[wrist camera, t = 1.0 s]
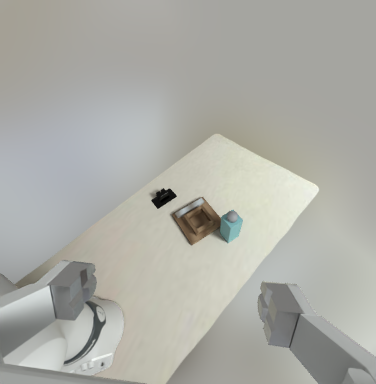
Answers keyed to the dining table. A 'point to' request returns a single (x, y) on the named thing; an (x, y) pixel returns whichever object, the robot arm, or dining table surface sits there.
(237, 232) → the teal bottle
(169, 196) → the black block on base
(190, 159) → the dining table surface
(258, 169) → the dining table surface
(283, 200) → the dining table surface
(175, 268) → the dining table surface
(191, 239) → the jig
